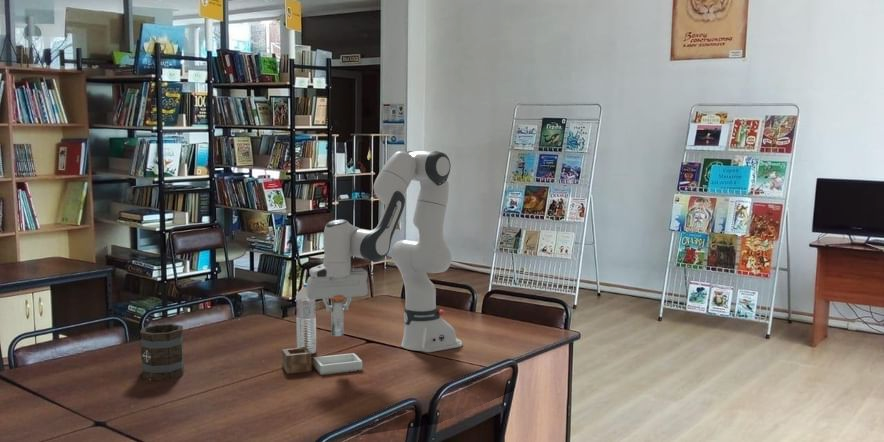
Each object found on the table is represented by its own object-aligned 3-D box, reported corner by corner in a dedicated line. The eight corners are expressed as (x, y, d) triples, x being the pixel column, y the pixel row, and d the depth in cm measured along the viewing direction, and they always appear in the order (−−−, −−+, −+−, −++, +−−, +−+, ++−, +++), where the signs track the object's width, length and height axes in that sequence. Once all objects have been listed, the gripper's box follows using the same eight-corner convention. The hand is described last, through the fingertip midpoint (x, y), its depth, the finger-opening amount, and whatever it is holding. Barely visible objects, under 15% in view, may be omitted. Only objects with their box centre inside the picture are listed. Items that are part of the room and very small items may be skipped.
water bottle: (312, 356, 269) (311, 286, 266) (293, 355, 271) (292, 285, 268) (319, 350, 276) (318, 282, 273) (301, 349, 277) (300, 281, 274)
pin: (342, 332, 258) (342, 292, 256) (346, 335, 254) (346, 295, 252) (328, 333, 256) (328, 293, 255) (332, 337, 252) (331, 296, 250)
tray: (354, 361, 264) (354, 353, 263) (362, 370, 254) (362, 361, 254) (313, 366, 258) (313, 357, 258) (320, 374, 249) (320, 365, 249)
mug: (191, 375, 247) (189, 330, 246) (147, 383, 240) (146, 336, 238) (172, 360, 263) (170, 317, 261) (131, 367, 255) (129, 323, 253)
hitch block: (306, 364, 260) (305, 346, 260) (311, 371, 253) (311, 353, 252) (282, 366, 257) (282, 349, 257) (286, 373, 250) (286, 355, 249)
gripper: (364, 266, 259) (364, 306, 261) (304, 269, 251) (305, 310, 253) (370, 269, 253) (370, 310, 255) (308, 272, 246) (309, 315, 247)
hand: (337, 310), depth 254 cm, fingers closed on pin, 4 cm apart
